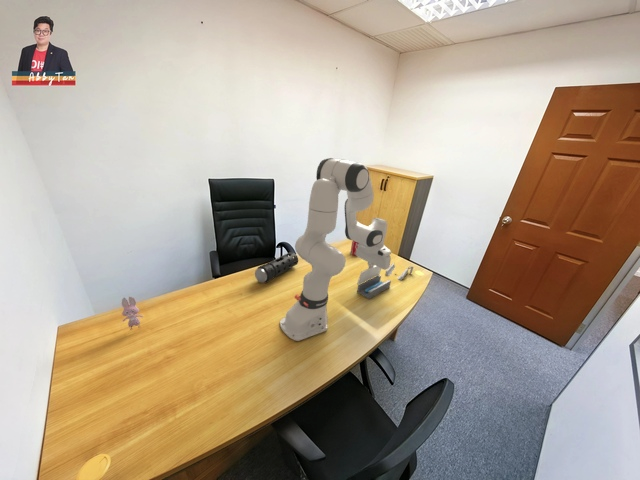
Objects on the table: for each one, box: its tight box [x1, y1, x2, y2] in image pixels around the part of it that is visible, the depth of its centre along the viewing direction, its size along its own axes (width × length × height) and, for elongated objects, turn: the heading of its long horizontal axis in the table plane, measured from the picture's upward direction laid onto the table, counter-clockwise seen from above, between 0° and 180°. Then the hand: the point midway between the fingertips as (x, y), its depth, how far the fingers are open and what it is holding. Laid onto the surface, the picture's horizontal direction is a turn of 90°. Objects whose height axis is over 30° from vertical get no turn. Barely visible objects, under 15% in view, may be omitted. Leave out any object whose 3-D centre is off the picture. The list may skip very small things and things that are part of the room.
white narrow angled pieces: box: [384, 262, 414, 281], centre depth 150 cm, size 15×13×5 cm
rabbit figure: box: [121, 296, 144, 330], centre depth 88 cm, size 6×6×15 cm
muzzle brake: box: [254, 251, 299, 284], centre depth 135 cm, size 10×28×10 cm, turn 148°
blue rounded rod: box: [365, 280, 384, 293], centre depth 130 cm, size 16×2×2 cm, turn 132°
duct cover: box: [356, 265, 383, 286], centre depth 131 cm, size 20×8×1 cm
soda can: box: [350, 240, 359, 257], centre depth 170 cm, size 7×7×12 cm
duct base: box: [356, 274, 392, 300], centre depth 130 cm, size 20×8×4 cm, turn 132°
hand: (370, 269), depth 130 cm, fingers closed, pressing on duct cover
